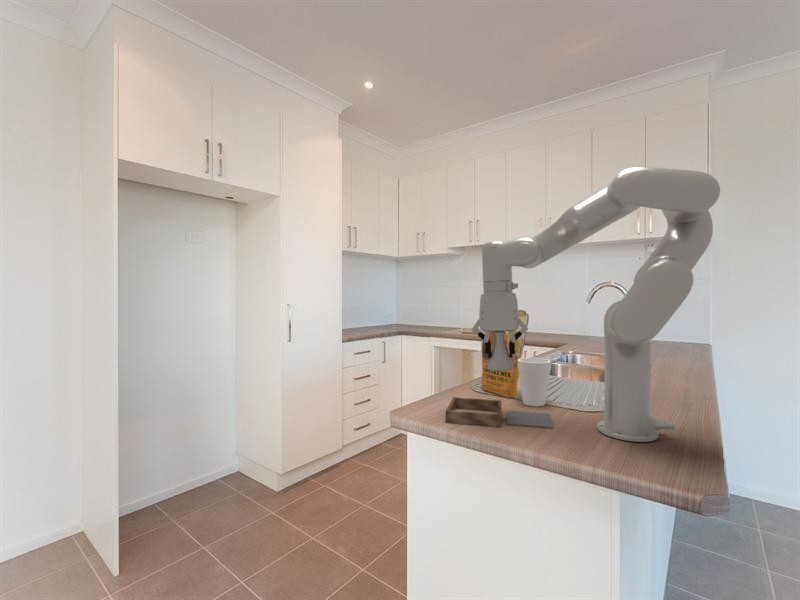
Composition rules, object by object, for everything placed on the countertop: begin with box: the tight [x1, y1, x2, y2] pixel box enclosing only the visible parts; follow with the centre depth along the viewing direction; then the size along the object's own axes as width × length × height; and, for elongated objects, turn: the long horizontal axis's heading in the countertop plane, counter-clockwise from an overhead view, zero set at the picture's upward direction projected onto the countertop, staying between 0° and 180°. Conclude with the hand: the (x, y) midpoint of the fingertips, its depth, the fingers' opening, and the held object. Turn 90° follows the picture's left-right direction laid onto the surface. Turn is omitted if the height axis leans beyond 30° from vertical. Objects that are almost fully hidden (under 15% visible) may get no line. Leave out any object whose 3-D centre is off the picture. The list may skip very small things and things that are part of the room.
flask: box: [487, 331, 514, 371], centre depth 104 cm, size 7×7×10 cm
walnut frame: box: [445, 396, 502, 428], centre depth 106 cm, size 14×14×3 cm
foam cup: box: [518, 357, 552, 407], centre depth 118 cm, size 10×9×13 cm
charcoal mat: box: [506, 410, 554, 429], centre depth 103 cm, size 11×11×1 cm
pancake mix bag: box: [480, 309, 530, 399], centre depth 130 cm, size 7×19×28 cm, turn 31°
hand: (500, 356), depth 104 cm, fingers closed on flask, 4 cm apart
